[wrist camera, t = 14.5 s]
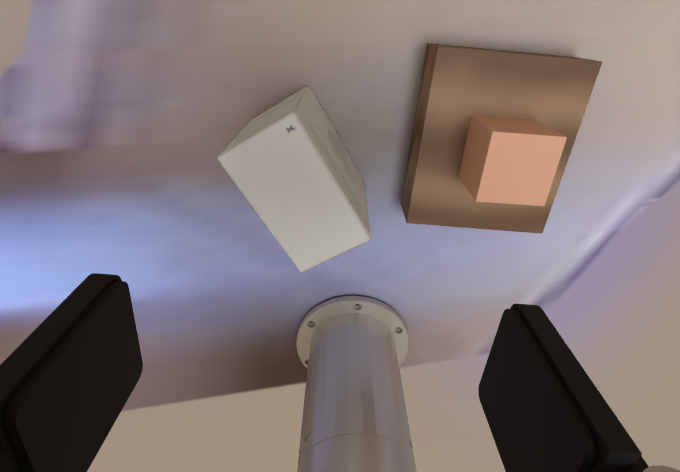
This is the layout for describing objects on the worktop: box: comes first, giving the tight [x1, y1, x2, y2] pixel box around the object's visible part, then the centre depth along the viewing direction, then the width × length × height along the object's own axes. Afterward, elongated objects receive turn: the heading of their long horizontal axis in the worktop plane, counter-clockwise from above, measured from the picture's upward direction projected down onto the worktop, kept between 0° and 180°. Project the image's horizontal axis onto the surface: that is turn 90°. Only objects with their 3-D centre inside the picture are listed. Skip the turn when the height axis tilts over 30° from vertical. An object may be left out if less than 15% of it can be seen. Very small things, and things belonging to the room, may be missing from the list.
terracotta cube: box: [458, 116, 567, 206], centre depth 31 cm, size 5×5×5 cm
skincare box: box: [217, 86, 371, 272], centre depth 33 cm, size 10×6×10 cm, turn 30°
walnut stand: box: [401, 44, 602, 233], centre depth 35 cm, size 14×12×4 cm
